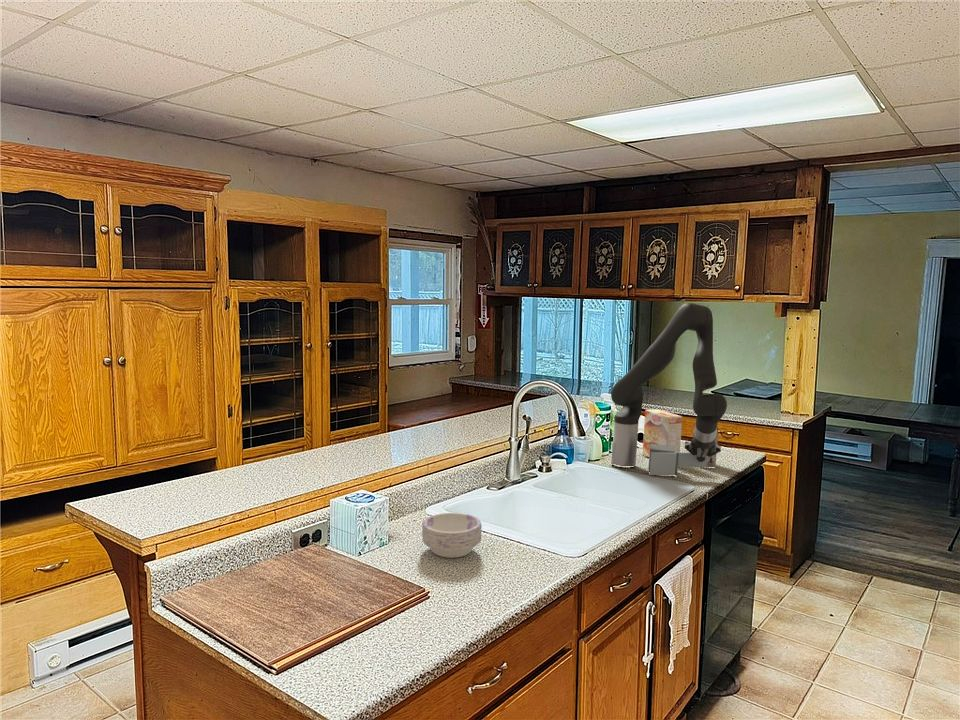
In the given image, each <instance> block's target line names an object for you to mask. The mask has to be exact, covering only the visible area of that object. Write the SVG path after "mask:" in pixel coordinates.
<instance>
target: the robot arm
mask: <svg viewBox="0 0 960 720" xmlns="http://www.w3.org/2000/svg"><path fill="white" fill-rule="evenodd" d="M713 316H714V315H713V313H712V310H711V309H710V308H709V307H708V306H706V305H704V304H703V305H702V304H698V303H694V302H686V303H684V304H682V305H681V306H679V308H678V309H677V310H676V311H675V313H674V315H673V316H672V317H671V318H670V320H669V322H668V324H667V325H666V326H665V328H664V329H663V331H662V332H661V333H660V334H659V335H658V336H657V338H656V339H655V340H654V341H653V343H651V345H650V346H649V347H648V348H647V349H646V351H645V352H644V353H643V354H642V356H641V357H640V358H639V359H638V360H637V361H636V362H635V364H634V365H633V366H632V367H631V368H630V370H629V371H628V372H627V373H626V374H625V375H623V376H622V377H621V378H620V379H619V380H618V381H617V382H616V383H615V384H614V385H613V387H612V389H611V393H610V398H611V401H612V402H613V404H615V405H617V406H622V407H621V408H620V410H619V411H618V412H616V413H615V414H614V420H613V433H612V434H613V438H612V446H611V447H612V448H611V463H610V464H616V465H620V466H635V465H637V453H638V452H637V451H638V450H637V449H638V435H639V434H638V433H639V419H640V418H641V415H642V410H643V402H644V390H643V387H642V385H643V384H644V383H646V382H648V381H649V380H651V379H653V378H655V377H656V376H658V375H659V374H660V373H662V372H663V371H664V370H665V369H666V368H667V366H669V365H670V363H672V361H673V359H674V357H675V355H676V347H677V342H678V340H679V339H680V337H681V336H682V335H683V334H684V333H685V332H686V331H691V332H692V331H693V332H695V334H696V337H697V348H696V350H695V353H694V355H693V356H694V357H693V359H692V373H693V381H694V396H693V401H692V409H693V413H695V415H696V419H695V425H694V428H693V435H692V439H691V440H690V441H685V442H684V449H685V450H686V451H687V452H688V453H691V454H692V455H697V460H698V462H700V461H701V462H703V461H705V457H706V456H708V457H711V456H713V455H715V454H716V455H718V453H721V451H722V445H721V444H720V443H717V445H716V442H715V439H716V435H717V428H718V424H719V422H720V421H721V419H722V418H723V416H724V415H725V414H726V411H727V407H728V402H727V399H726V397H725V396H724V395H722V394H721V393H710V394H704V392H705V391H707V390H710V389H714V388H715V387H716V386H717V384H718V379H717V374H716V368H715V361H714V318H713ZM701 451H702V452H701Z"/></svg>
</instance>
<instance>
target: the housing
mask: <svg viewBox="0 0 960 720" xmlns="http://www.w3.org/2000/svg"><path fill="white" fill-rule="evenodd" d="M651 452H663V453H675V447H674V446H668V445H657V444H650V454H649V458H648V470H649V472H650V460H651Z"/></svg>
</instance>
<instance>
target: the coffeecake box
mask: <svg viewBox="0 0 960 720" xmlns="http://www.w3.org/2000/svg"><path fill="white" fill-rule="evenodd" d="M643 424H644V425H643V426H644V427H643V439H642V440H643V441H642V454H643V455H645V456H648V457H649V454H650V444H657V445H668V446H674V447H675V453H676V452H681V443H682V442H681V439H682V428H683V416H682V415H678V414H675V413H672V412H668V411H665V410H662V409H658V408H655V409H645V411H644V423H643Z"/></svg>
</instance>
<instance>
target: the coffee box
mask: <svg viewBox="0 0 960 720" xmlns="http://www.w3.org/2000/svg"><path fill="white" fill-rule="evenodd" d="M715 442H716V445H718V444H719V427H717V435H716V439H715ZM701 452H702V451H701ZM716 464H717V454H715V455H713V456H711V457H708V456H707V467H715V468H716V466H717V465H716Z"/></svg>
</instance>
